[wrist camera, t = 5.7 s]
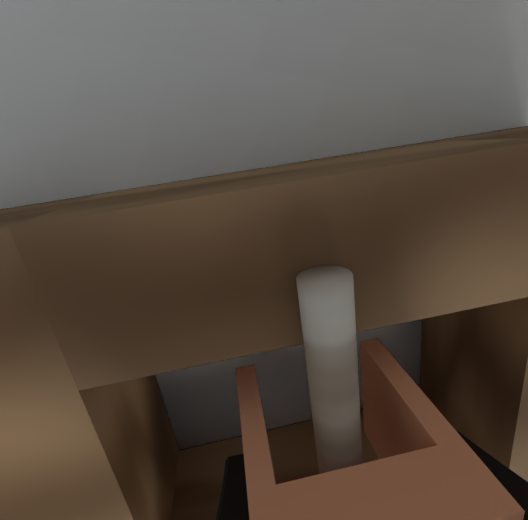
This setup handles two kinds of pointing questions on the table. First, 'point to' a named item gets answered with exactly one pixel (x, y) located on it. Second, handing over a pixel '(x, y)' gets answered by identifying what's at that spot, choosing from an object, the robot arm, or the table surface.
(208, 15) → the table surface
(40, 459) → the wooden frame tray
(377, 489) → the u clip
